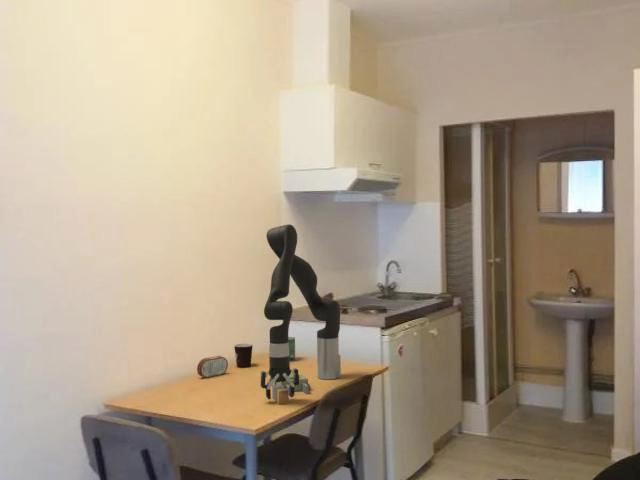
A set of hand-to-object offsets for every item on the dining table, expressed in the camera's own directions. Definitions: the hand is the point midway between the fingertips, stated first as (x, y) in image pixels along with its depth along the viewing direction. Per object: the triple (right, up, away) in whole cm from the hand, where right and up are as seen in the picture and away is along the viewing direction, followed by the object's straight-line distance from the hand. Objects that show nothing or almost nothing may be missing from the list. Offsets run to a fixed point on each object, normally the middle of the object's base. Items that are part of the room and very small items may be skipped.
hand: (280, 397), depth 251 cm
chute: (0, -1, 0) cm, 1 cm away
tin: (-32, -1, +44) cm, 55 cm away
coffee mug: (-21, 0, +65) cm, 68 cm away
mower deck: (+4, -1, +16) cm, 16 cm away
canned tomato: (-1, 0, +75) cm, 75 cm away
